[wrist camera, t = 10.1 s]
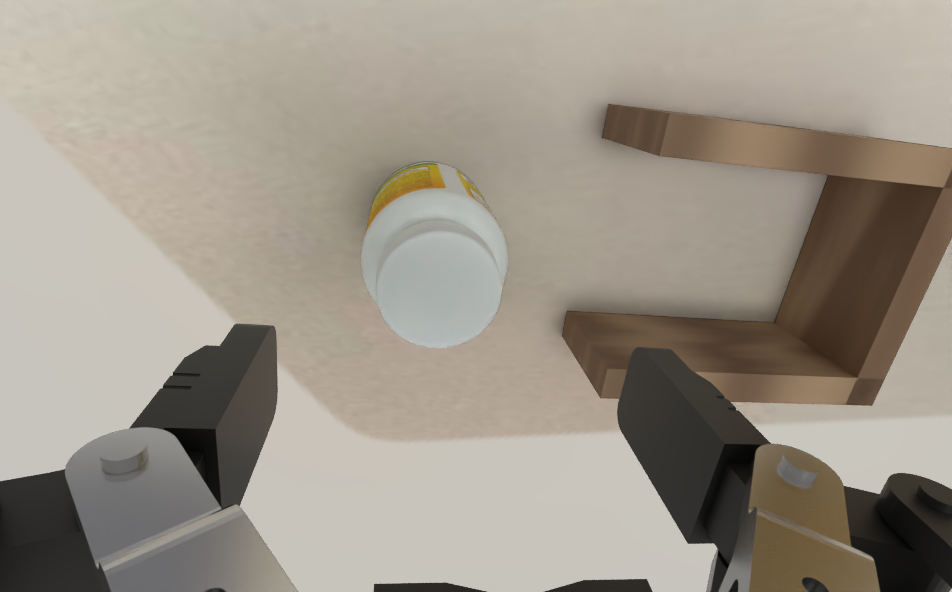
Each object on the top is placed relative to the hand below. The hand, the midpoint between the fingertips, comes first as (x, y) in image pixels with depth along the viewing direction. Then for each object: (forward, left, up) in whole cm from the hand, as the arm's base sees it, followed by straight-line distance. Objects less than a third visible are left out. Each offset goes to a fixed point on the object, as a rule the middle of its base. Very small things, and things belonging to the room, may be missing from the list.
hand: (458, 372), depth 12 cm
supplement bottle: (0, 0, -15) cm, 15 cm away
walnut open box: (-14, 0, -15) cm, 20 cm away
